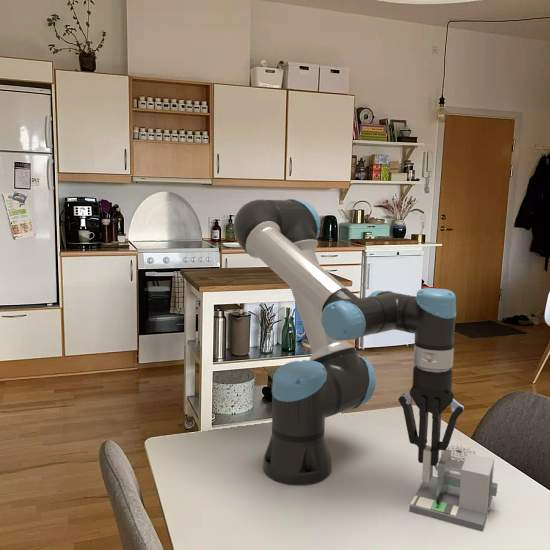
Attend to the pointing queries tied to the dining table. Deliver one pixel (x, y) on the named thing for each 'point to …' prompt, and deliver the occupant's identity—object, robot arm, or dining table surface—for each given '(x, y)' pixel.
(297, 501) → the dining table surface
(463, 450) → the mechanical component
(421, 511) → the gauge base
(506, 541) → the dining table surface
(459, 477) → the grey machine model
